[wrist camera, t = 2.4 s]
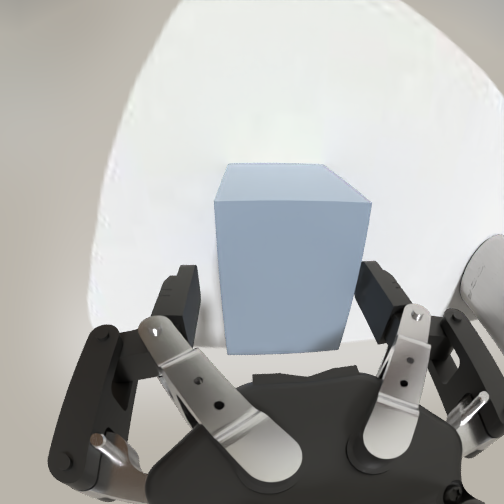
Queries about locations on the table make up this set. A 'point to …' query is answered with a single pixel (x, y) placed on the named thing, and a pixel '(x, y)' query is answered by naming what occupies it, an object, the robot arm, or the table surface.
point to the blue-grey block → (287, 256)
